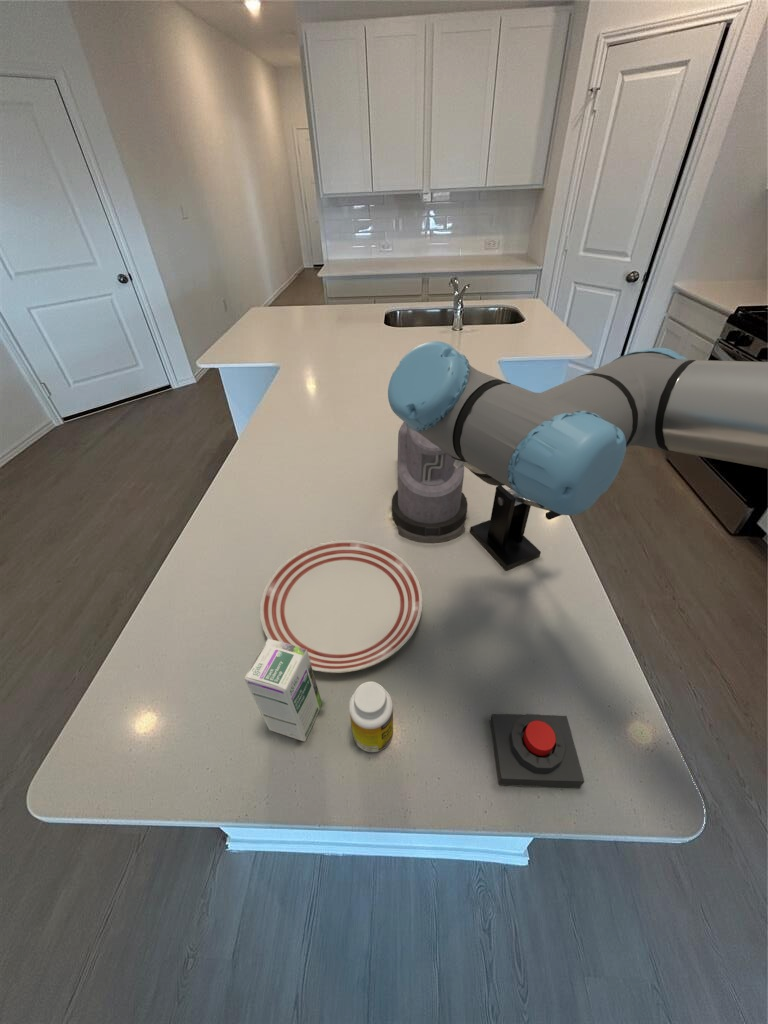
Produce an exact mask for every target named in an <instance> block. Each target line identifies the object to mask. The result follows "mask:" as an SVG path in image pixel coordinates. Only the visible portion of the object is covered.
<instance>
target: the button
mask: <svg viewBox="0 0 768 1024" xmlns="http://www.w3.org/2000/svg"><path fill="white" fill-rule="evenodd" d="M523 739H524V743H525V745H526V747H527V748H528V750H529V751H531V752H532V753H533V754H535V755H539V756H545V755H547V754H549V753H550V752H551V750H552V749H553V747H554V745H555V742H556V736H555V733H554V731H553V729H552V728H551V727H550V726H549V725H548V724H546V723H545V722H542V721H532V722H530V723H529V724H528V725H527V727H526V730H525V732H524V736H523Z"/></svg>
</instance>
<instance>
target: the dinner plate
mask: <svg viewBox="0 0 768 1024" xmlns="http://www.w3.org/2000/svg"><path fill="white" fill-rule="evenodd" d="M423 596H424V595H423V591H422V586H421V583H420V581H419V578H418V576H417V575H416V573H415V572H414V570H413V569H412V567H411V565H409V563H407V562H406V561H405V559H404V558H402V557H401V556H399V555H398V554H397V553H396V552H393V551H392V550H390V549H388V548H386V547H384V546H382V545H379V544H377V543H373V542H369V541H364V540H355V539H344V540H343V539H340V540H339V539H338V540H330V541H329V540H328V541H324V542H321V543H318V544H315V545H311V546H309V547H306V548H304V549H302V550H300V551H298V552H296V553H295V554H293V555H292V556H291V557H289V558H288V559H286V560H285V561H284V562H283V563H281V565H280V566H279V567H278V568H277V569H276V570H275V571H274V572H273V574H272V575H271V576H270V578H269V580H268V581H267V583H266V585H265V586H264V589H263V592H262V595H261V599H260V603H259V604H260V605H259V619H260V624H261V628H262V630H263V633H264V634H265V637H266V638H267V640H268V639H271V640H276V641H280V642H284V643H288V644H291V645H294V646H297V647H301V648H303V649H306V650H307V652H308V655H309V659H310V663H311V666H312V670H313V671H314V672H315V671H316V672H321V673H328V674H329V673H331V674H341V673H342V674H343V673H350V672H356V671H360V670H364V669H367V668H371V667H373V666H375V665H378V664H380V663H382V662H383V661H385V660H387V659H389V658H390V657H391V656H393V655H394V654H396V653H397V652H398V651H399V650H400V649H402V648H403V647H404V646H405V644H406V643H407V642H408V641H409V640H410V639H411V637H412V636H413V634H414V633H415V631H416V629H417V627H418V626H419V623H420V621H421V616H422V612H423V608H424V607H423V606H424V597H423Z"/></svg>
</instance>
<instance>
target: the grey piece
mask: <svg viewBox="0 0 768 1024" xmlns="http://www.w3.org/2000/svg"><path fill="white" fill-rule="evenodd" d="M454 462H455V459H454V458H452V457H451V456H450V455H449V454H447V453H446V452H445V451H443V450H442V449H440V448H439V447H437V446H436V445H435V444H433V443H432V442H430V441H429V440H428V439H426V438H425V437H424V436H422V435H421V434H419V433H418V432H417V431H414V430H413V429H411V428H408V427H407V425H406V423H405V422H404V421H402V424H401V426H400V427H399V430H398V435H397V490H396V491H395V492H394V494H393V495H392V498H391V517H392V520H393V522H394V524H395V525H396V526H397V534H398V535H399V536H401V537H402V538H405V539H408V540H410V541H414V542H417V543H423V544H438V543H445V542H449V541H452V540H454V539H456V538H458V537H460V536H462V535H463V534H465V533H466V528H465V527H466V525H465V522H466V519H467V512H468V500H467V497H466V496H465V494H464V493H463V485H464V477H465V466H464V465H463V466H462V467H461V468H460V469H458V468H456V467H455V466H454Z"/></svg>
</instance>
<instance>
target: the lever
mask: <svg viewBox="0 0 768 1024" xmlns="http://www.w3.org/2000/svg"><path fill="white" fill-rule="evenodd" d="M506 490H507V491H508V492H509V493H510V494H511V495H513V496H514V497H515V498H516V501H515V506H517V505H519V504H522V503H523V504H526V505H530V506H531V507H534V508H538V509H542V510H544V511H547V512H545V518H546V520H553V519H555V518H558V517H560V516H562V515H561V514H558V513H553V512H552V511H550V510H549V509H547V508H546V507H544V508H542V507H541V506H539V505H538V504H536V502H534V501H531V500H529V499H527V500H526V499H525V498H522V497H521V496H519V495H518V494H517V492H514V490H512V489H510V488H509V489H506Z"/></svg>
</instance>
